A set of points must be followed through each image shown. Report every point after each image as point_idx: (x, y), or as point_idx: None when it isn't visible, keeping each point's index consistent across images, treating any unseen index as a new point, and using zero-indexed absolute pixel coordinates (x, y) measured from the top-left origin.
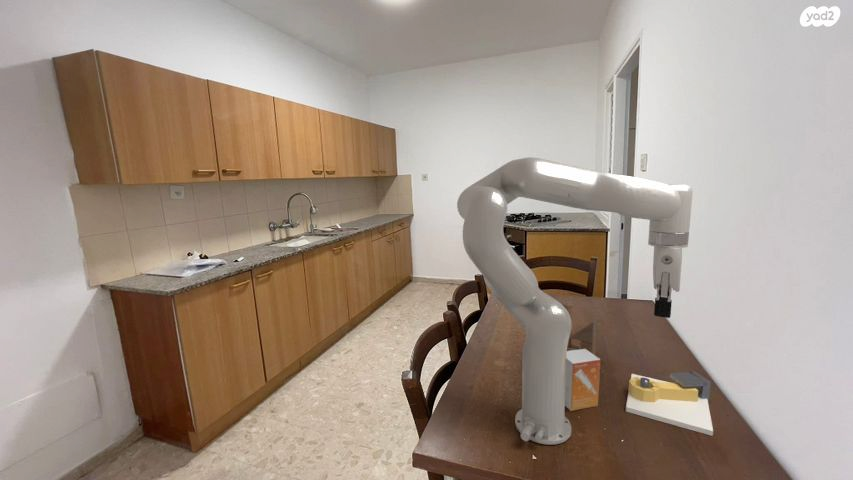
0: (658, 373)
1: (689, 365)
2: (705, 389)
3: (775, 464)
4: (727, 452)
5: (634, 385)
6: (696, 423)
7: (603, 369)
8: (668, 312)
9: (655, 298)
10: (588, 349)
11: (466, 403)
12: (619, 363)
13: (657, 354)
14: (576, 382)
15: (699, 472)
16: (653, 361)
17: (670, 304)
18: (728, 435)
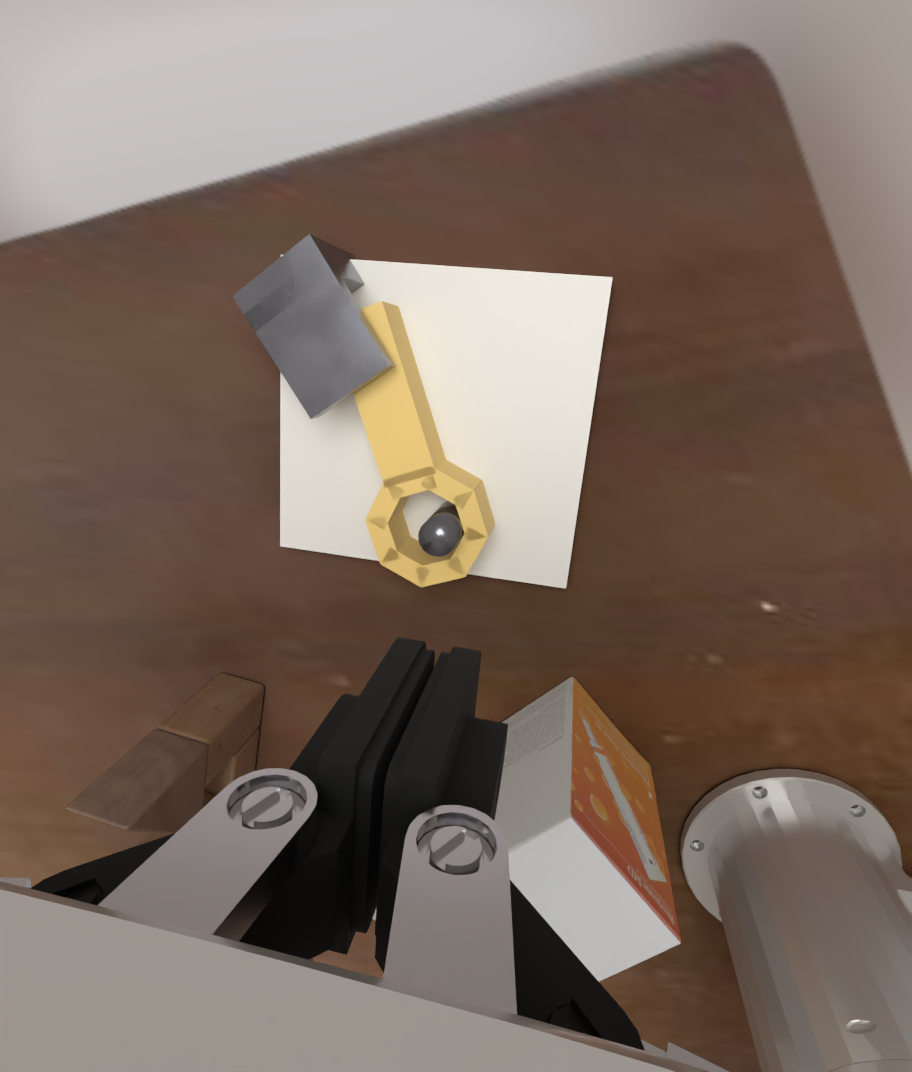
0: (196, 430)
1: (48, 287)
2: (339, 264)
3: (721, 67)
4: (706, 242)
5: (457, 569)
6: (579, 335)
7: (275, 641)
8: (470, 701)
9: (346, 946)
10: (226, 737)
11: (735, 1066)
12: (190, 578)
13: (17, 415)
14: (652, 838)
15: (875, 367)
16: (95, 439)
17: (444, 759)
18: (579, 216)
